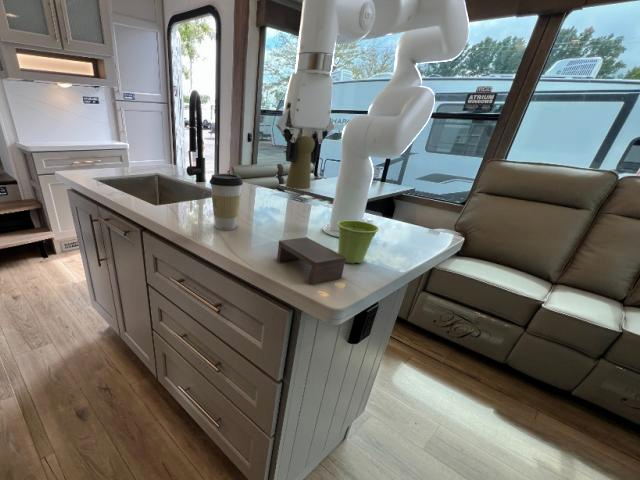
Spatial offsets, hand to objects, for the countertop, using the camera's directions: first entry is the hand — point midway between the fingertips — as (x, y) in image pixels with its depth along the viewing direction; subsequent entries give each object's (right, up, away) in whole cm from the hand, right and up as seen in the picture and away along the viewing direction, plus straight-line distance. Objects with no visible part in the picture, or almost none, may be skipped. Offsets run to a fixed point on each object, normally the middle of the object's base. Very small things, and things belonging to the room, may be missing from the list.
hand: (301, 160), depth 74 cm
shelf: (+1, -26, -1) cm, 26 cm away
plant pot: (+13, -23, +5) cm, 27 cm away
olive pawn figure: (0, -5, +3) cm, 6 cm away
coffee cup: (-19, -10, +24) cm, 33 cm away
